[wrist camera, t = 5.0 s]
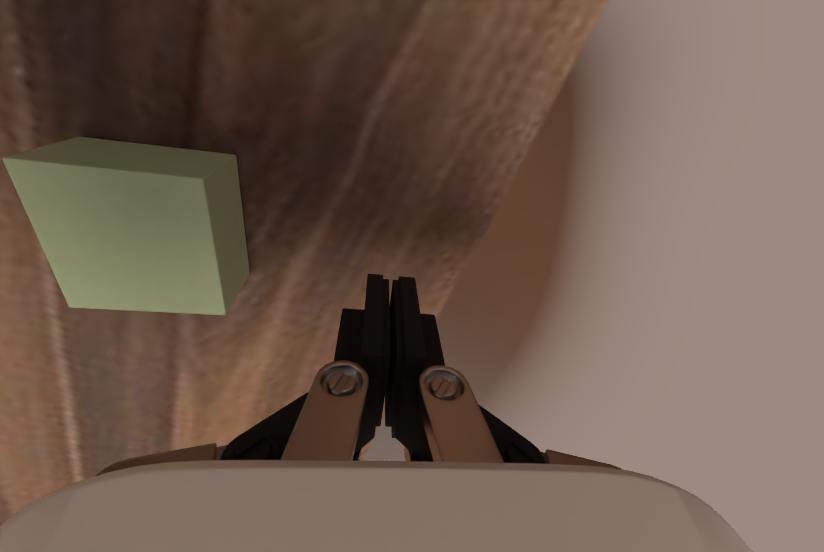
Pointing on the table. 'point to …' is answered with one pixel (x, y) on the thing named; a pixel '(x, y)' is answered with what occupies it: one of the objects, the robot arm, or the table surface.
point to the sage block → (136, 223)
